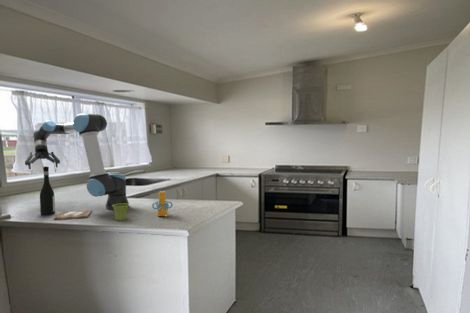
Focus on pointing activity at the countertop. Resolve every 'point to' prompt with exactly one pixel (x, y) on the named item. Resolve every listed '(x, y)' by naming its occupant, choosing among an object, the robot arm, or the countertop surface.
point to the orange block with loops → (162, 204)
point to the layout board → (73, 215)
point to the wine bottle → (47, 195)
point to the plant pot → (120, 211)
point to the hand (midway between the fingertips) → (43, 171)
